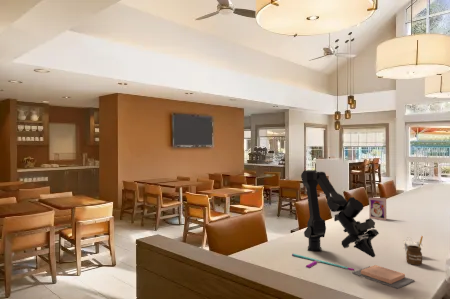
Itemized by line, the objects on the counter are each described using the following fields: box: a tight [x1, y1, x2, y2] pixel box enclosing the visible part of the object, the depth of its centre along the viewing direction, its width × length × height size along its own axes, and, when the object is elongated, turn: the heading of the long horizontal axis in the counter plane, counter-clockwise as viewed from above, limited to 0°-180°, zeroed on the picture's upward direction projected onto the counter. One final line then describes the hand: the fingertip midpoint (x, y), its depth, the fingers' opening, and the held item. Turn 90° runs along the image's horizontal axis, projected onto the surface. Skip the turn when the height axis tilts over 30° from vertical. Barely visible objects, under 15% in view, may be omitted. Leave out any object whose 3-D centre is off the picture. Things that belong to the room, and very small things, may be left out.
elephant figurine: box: [403, 240, 424, 253], centre depth 152 cm, size 8×10×7 cm
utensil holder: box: [405, 235, 424, 266], centre depth 141 cm, size 6×6×12 cm
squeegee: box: [291, 253, 355, 271], centre depth 139 cm, size 29×2×10 cm
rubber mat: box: [352, 265, 415, 290], centre depth 125 cm, size 18×12×1 cm, turn 34°
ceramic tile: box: [360, 264, 406, 284], centre depth 125 cm, size 2×10×12 cm
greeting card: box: [368, 197, 387, 221], centre depth 233 cm, size 11×7×15 cm, turn 43°
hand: (374, 256), depth 128 cm, fingers closed
